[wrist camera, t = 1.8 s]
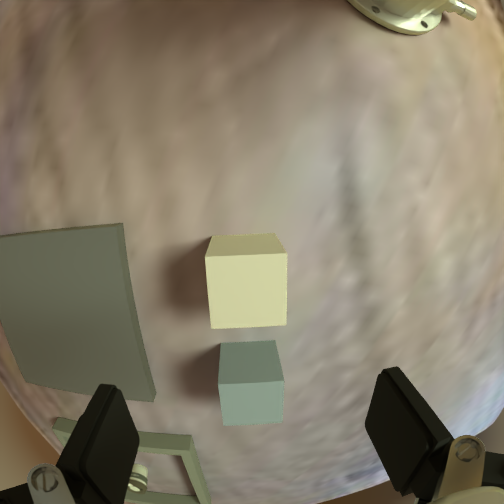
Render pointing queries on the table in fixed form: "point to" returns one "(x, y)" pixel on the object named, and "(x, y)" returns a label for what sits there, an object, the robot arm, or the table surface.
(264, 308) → the cream block
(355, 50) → the table surface
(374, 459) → the table surface
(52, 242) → the baseplate
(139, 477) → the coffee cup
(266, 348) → the slate block
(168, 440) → the cup coaster rim
